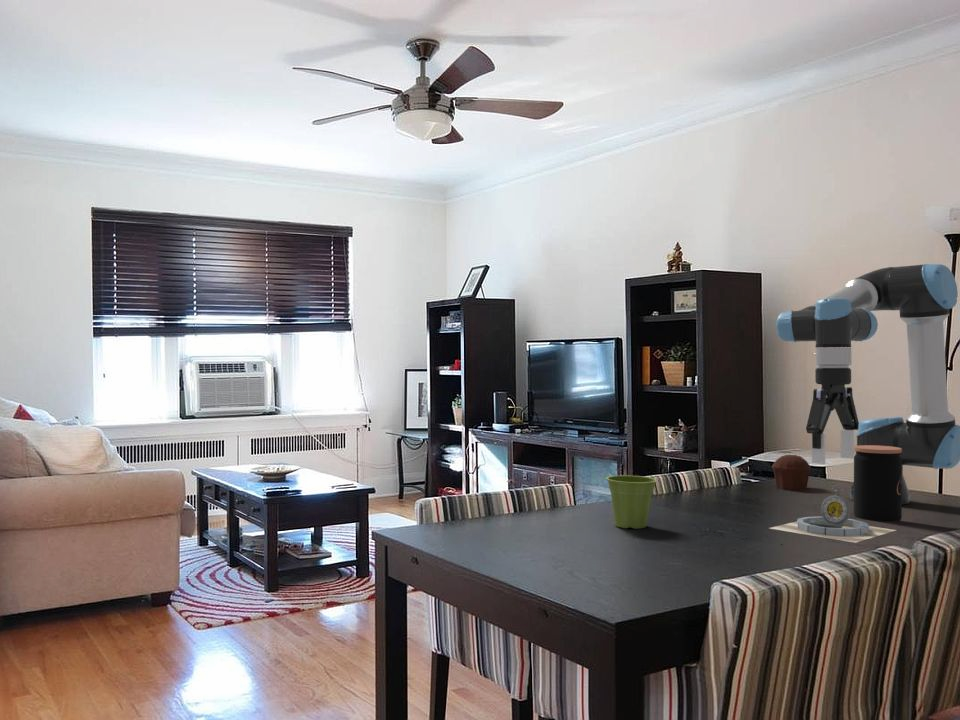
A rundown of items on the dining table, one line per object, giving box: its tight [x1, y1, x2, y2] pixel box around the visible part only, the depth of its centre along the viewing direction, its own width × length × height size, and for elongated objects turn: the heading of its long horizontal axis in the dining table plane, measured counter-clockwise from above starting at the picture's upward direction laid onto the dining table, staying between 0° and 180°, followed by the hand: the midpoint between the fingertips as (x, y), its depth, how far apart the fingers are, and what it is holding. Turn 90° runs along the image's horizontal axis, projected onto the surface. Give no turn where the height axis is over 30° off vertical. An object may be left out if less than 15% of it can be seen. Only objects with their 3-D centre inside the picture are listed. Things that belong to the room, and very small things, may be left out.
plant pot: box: [605, 475, 658, 530], centre depth 203 cm, size 12×12×11 cm
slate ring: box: [797, 515, 870, 536], centre depth 195 cm, size 15×15×2 cm
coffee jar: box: [853, 445, 903, 522], centre depth 210 cm, size 11×11×18 cm
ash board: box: [768, 521, 897, 544], centre depth 195 cm, size 20×20×1 cm
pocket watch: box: [811, 484, 851, 528], centre depth 194 cm, size 8×8×10 cm
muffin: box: [771, 454, 812, 491], centre depth 263 cm, size 12×11×10 cm
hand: (833, 460), depth 195 cm, fingers open, 13 cm apart
